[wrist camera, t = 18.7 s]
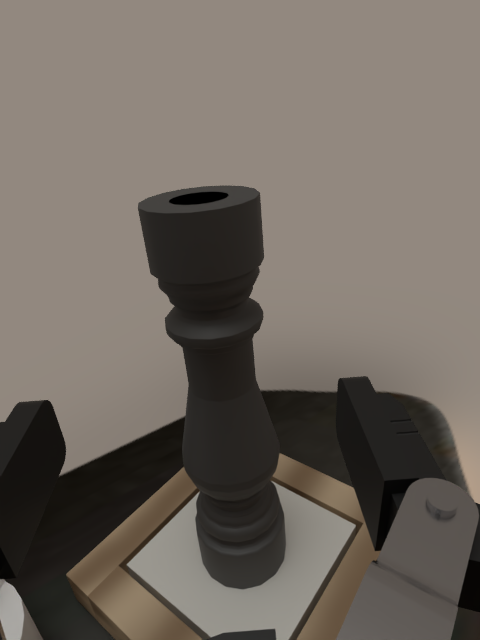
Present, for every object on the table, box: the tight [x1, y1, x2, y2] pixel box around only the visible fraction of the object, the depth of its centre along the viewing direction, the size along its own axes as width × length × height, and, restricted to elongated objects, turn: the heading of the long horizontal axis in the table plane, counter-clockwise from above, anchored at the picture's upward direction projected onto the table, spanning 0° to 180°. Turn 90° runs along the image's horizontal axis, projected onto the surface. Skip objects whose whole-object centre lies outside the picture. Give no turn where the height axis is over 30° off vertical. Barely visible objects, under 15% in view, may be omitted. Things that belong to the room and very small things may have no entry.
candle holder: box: [138, 186, 286, 589], centre depth 26 cm, size 6×6×25 cm
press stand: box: [66, 454, 381, 640], centre depth 32 cm, size 18×18×3 cm
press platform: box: [127, 481, 356, 640], centre depth 32 cm, size 12×12×2 cm
